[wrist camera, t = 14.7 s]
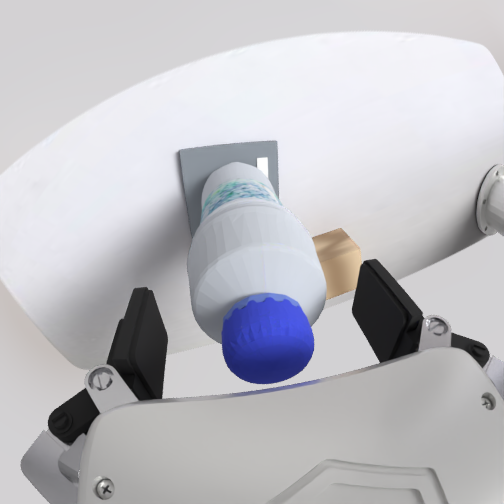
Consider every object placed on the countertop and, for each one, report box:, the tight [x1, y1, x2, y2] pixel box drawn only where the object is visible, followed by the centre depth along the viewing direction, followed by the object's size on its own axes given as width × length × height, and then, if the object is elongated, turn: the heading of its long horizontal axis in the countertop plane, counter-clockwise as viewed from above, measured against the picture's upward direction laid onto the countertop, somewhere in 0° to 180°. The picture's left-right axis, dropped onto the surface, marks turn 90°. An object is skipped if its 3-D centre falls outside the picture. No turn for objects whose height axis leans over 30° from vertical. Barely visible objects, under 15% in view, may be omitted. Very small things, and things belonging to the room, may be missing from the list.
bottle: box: [187, 162, 327, 384], centre depth 17 cm, size 7×7×20 cm
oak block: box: [312, 228, 362, 300], centre depth 30 cm, size 5×5×5 cm
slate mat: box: [180, 141, 279, 238], centre depth 26 cm, size 9×9×1 cm
